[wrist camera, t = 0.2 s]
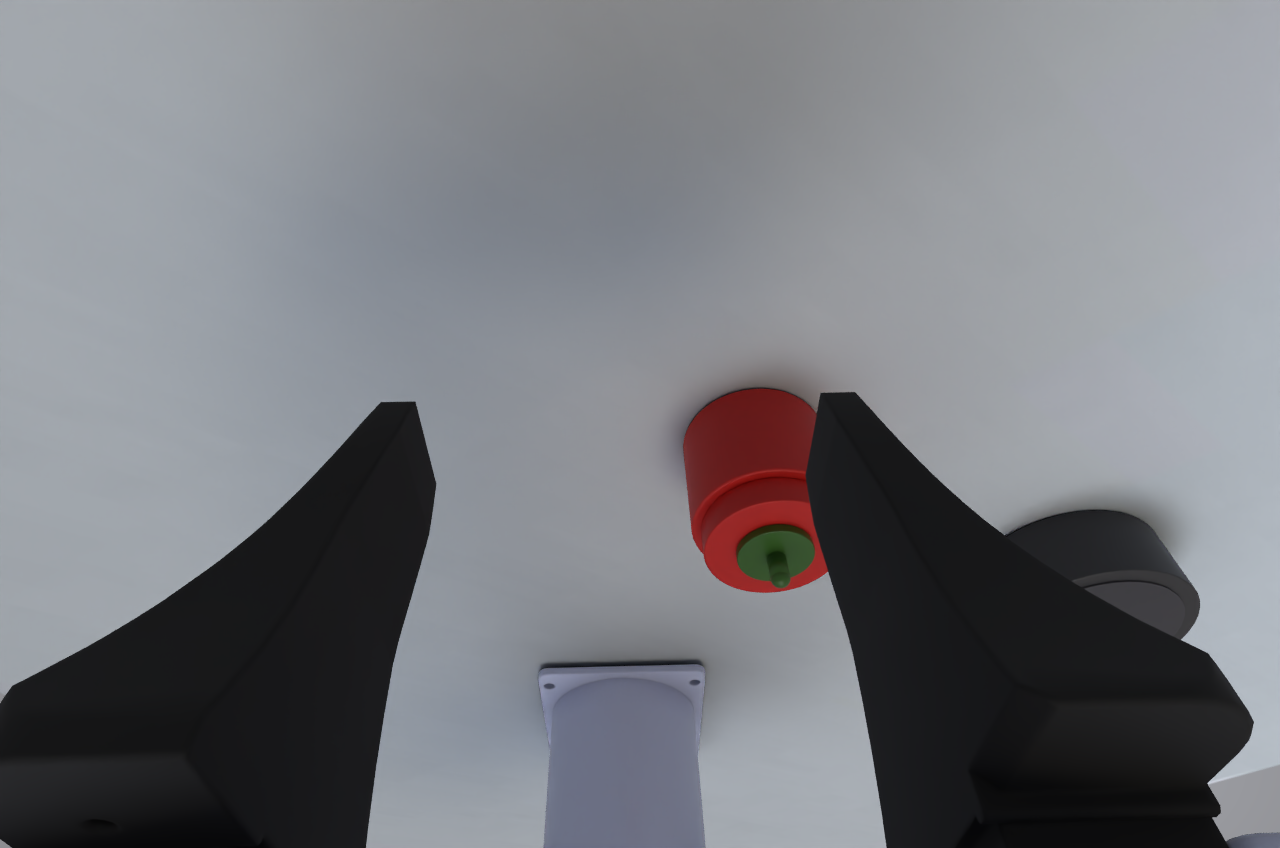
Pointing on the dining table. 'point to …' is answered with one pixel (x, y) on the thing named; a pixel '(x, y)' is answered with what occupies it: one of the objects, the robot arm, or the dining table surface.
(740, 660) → the dining table surface
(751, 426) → the pepper
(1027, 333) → the dining table surface
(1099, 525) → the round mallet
